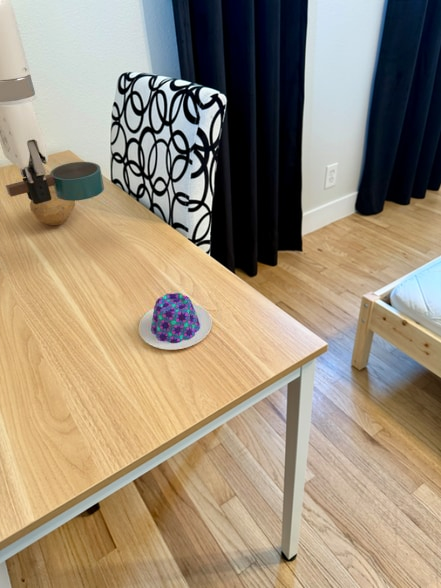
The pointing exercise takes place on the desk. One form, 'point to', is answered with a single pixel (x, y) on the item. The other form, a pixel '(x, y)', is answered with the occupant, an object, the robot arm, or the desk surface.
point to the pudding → (174, 323)
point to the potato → (53, 209)
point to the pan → (69, 182)
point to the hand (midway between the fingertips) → (40, 199)
